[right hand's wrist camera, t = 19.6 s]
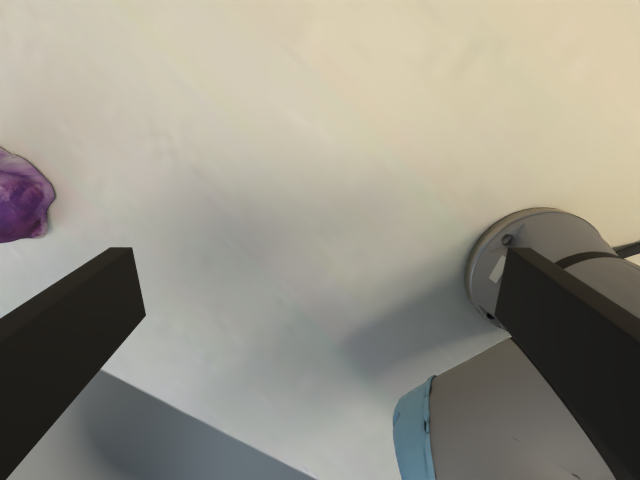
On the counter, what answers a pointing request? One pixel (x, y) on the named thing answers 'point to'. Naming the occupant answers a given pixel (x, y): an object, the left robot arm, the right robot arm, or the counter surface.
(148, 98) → the counter surface
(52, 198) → the figurine
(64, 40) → the counter surface
